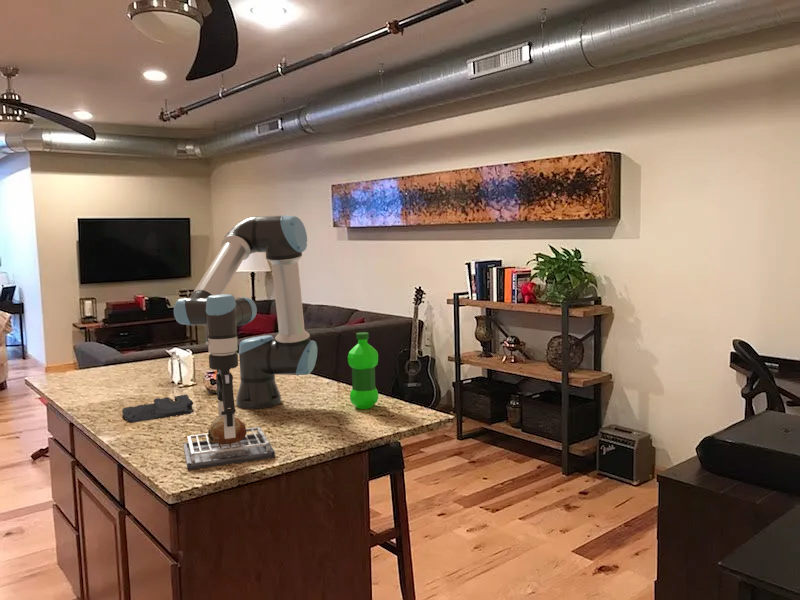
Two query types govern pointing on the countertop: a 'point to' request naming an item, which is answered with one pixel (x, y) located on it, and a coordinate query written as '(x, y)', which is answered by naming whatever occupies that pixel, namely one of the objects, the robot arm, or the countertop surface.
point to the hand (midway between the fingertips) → (227, 430)
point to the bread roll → (218, 432)
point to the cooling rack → (227, 450)
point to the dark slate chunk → (159, 409)
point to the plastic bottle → (363, 373)
